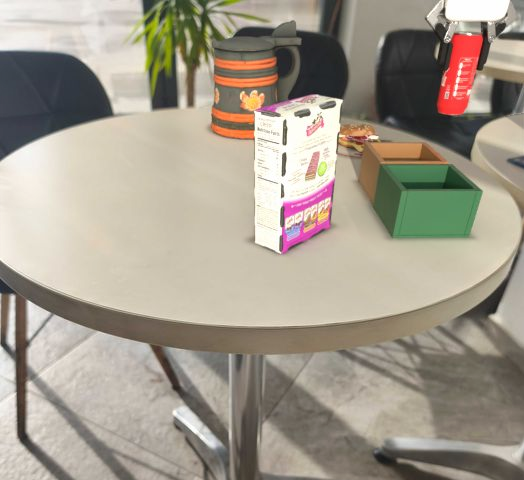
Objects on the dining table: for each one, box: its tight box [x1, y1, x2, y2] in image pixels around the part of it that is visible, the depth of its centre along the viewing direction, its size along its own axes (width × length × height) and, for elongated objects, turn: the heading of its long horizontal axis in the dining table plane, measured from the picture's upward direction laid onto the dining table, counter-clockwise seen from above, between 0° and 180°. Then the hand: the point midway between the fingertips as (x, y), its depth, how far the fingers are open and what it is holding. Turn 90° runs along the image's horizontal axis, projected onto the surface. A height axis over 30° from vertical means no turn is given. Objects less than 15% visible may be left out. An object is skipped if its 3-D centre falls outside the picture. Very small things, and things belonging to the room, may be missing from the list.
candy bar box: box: [253, 93, 344, 255], centre depth 61 cm, size 11×5×16 cm, turn 139°
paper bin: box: [358, 141, 450, 205], centre depth 77 cm, size 10×10×7 cm
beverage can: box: [436, 30, 483, 116], centre depth 84 cm, size 5×5×12 cm
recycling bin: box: [372, 163, 484, 239], centre depth 68 cm, size 11×11×7 cm
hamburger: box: [337, 123, 382, 159], centre depth 96 cm, size 14×14×6 cm
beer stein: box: [210, 19, 303, 140], centre depth 102 cm, size 19×15×20 cm
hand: (459, 68), depth 84 cm, fingers closed on beverage can, 5 cm apart
